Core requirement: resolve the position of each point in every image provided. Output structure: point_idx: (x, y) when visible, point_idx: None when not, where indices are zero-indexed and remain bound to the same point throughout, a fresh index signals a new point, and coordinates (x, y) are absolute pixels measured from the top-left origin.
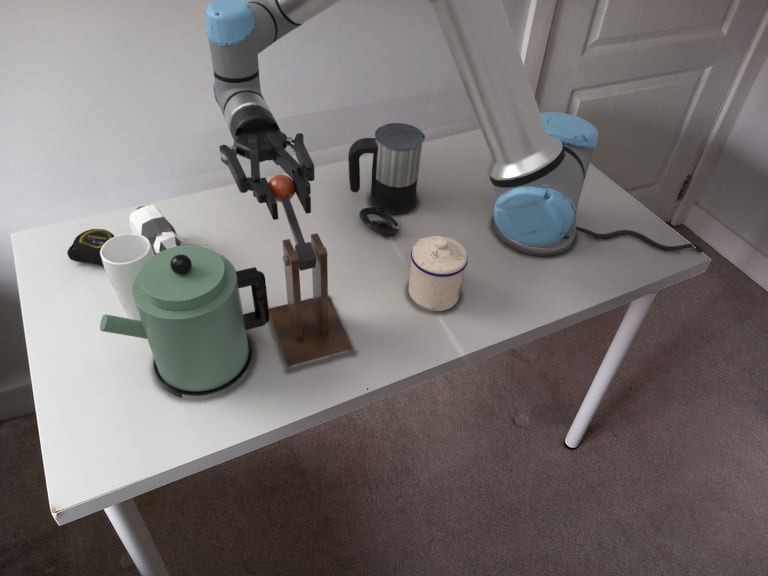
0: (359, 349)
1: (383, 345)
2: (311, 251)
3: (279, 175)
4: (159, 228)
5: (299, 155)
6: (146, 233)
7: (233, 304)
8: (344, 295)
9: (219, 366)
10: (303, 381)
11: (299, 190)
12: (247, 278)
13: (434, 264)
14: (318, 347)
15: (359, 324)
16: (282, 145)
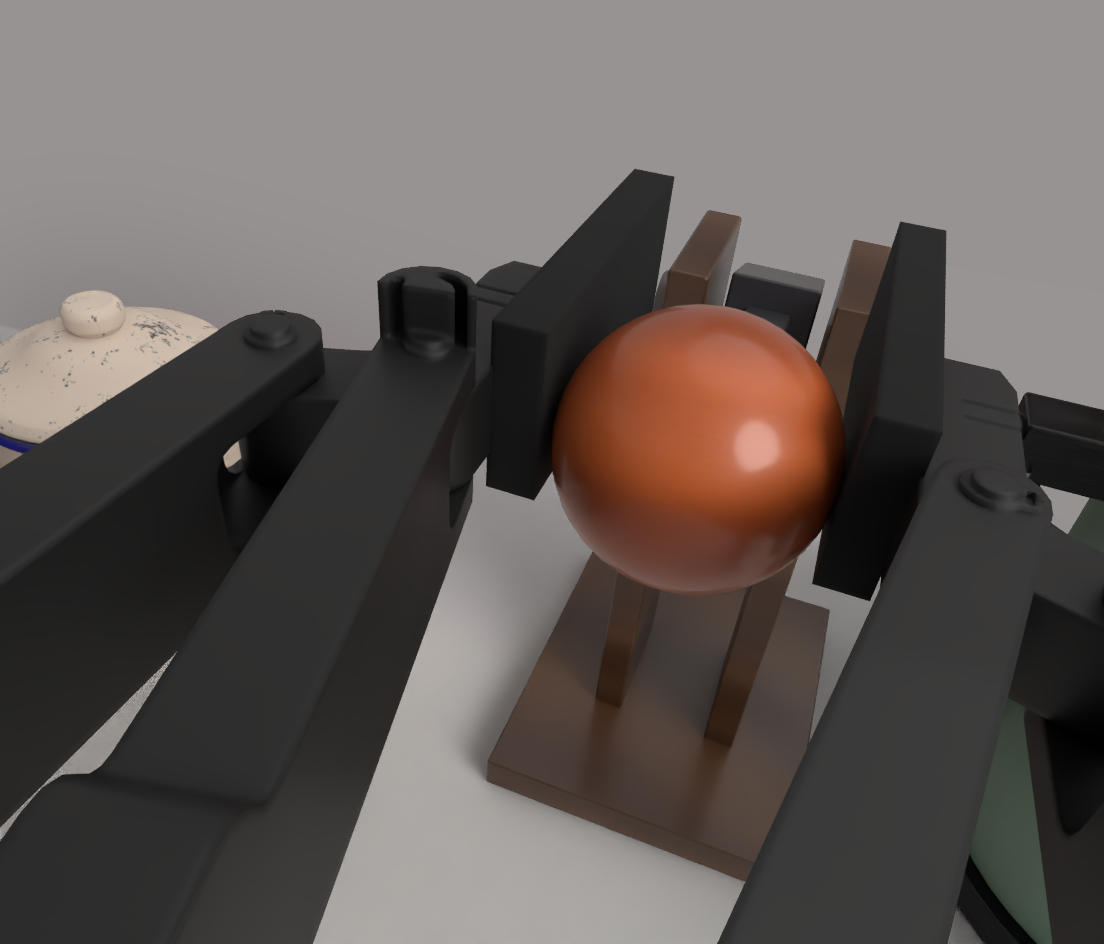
0: (566, 554)
1: (493, 523)
2: (752, 269)
3: (712, 349)
4: None
5: (51, 620)
6: None
7: None
8: (408, 751)
9: None
10: (794, 577)
11: (621, 278)
12: (1088, 408)
13: (201, 338)
14: (696, 599)
15: (486, 615)
16: (64, 788)
